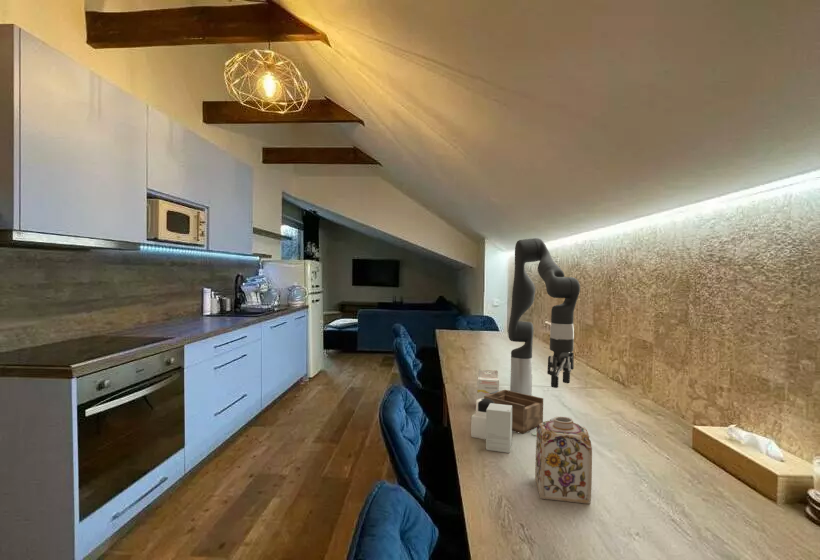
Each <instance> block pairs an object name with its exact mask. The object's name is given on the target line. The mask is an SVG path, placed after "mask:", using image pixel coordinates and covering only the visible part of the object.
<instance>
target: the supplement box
mask: <svg viewBox="0 0 820 560" xmlns="http://www.w3.org/2000/svg"><path fill="white" fill-rule="evenodd" d="M512 446H513V431H512V405H503V404H494V403H490V404H489V406H488V408H487V409H486V440H485V448H486V449H485V450H486V451H491V452H499V453H500V452H501V453H508V454H510V453H511V450H512Z"/></svg>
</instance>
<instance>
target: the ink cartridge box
mask: <svg viewBox="0 0 820 560" xmlns="http://www.w3.org/2000/svg"><path fill="white" fill-rule="evenodd" d="M477 372H478V373H477V382H476V400H478V399H481V398H484V396H486V395H489V394H493V393H496V392H499V391H500V379H499V377H498V376H499V375H498V374H499V371H498V370H494V369H478V370H477Z"/></svg>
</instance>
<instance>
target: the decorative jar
mask: <svg viewBox="0 0 820 560" xmlns="http://www.w3.org/2000/svg"><path fill="white" fill-rule="evenodd" d="M553 418H554V420H547V421H546V420H545V421H543V422H542V423H540V424H539V426H538V427H537V428H536V431H537V437H536V436H535V438H536V439H535V444H536V445H535V462H534V464H535V468H534V469H535V473H534V475H535V482H536V485H537V491H538V495H539V497H540V499H542V500H550V501H560V502H568V503H577V504H586V505H587V504H588V505H590V504H591V501H592V483H593V481H592V478H593V477H592V476H593V475H592V474H593V446H592V442H591V441H592V440H590V435H589V434H590V433H589V431H588V429H587V428H586V427H584V426H582V425H580V424H578V423H575V422H574V419H573V418H570V417H567V416H555V417H553Z"/></svg>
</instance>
